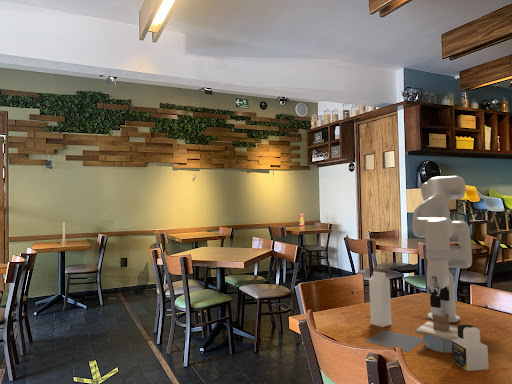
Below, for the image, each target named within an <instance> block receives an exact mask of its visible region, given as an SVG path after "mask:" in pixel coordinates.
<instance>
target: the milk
mask: <svg viewBox="0 0 512 384" xmlns="http://www.w3.org/2000/svg"><path fill="white" fill-rule="evenodd" d="M368 285H369V286H368V287H369V309H370V310H369V313H370V325H373V326H377V327H381V328H384V327H385V328H386V327H387V326H391V325H392V308H391V307H392V306H391V304H392V303H391V280H390V278H388V277H387V276H386V272H382V271H381V272H380V271H372V275H371V277H370V278H369V282H368Z"/></svg>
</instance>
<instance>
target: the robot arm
mask: <svg viewBox="0 0 512 384" xmlns="http://www.w3.org/2000/svg"><path fill="white" fill-rule="evenodd" d="M466 188H467V187H466V182H465V180H464V178H463V177H461V176H459V175H448V176H446V175H445V176H434V177H431V178H430V179H428V180H427V181H426V182H424V183H422V184H421V187H420V193H421V197H422V199H423V201H422V202H420V204H419V205H418V206H416V208H415V209H414V210H413V214H412V223H411V224H412V225H411V229H412V234H413V235H414V236H415V237H416V238H421V239H422V238H423V239H424V238H425V252H426V253H425V255H426V256H425V257H426V260H427V263H426V264H427V266H426V286H427V288H428V289H429V300H430V309H431V310H430V312H429V313H427V318H428V319H430V320H432V321H433V314H435V313H436V312H439V313H445V314H449V323H456V322H459V321H460V320H461V317H460V315H458V314H456V313H457V312H456V297H455V296H456V294H455V292H456V291H455V279H454V276H453V274H452V273H451V272H450V269H468V268H470V267H471V266H472V265H473V264H472V263H473V254H472V242H471V241H472V240H471V230H470V226H469V224H468V222H466V221H464V220H452V218H450V217H451V215H450V209H449V205H450V201H451V200H462V199H463V198H464V197H465V195H466V191H467V190H466ZM450 243H454V244H458V245H450Z"/></svg>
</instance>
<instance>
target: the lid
mask: <svg viewBox="0 0 512 384" xmlns="http://www.w3.org/2000/svg"><path fill="white" fill-rule="evenodd" d="M458 326H459V325H453V324H450V322H449V314H445V313H439V312H436V313H435V314H433V320H432V321H429V320H428V321H426V322H425V323H423V324H422V325H420V326H419V327H418V328H417V329H415V334H418V335H422V336H424V335H428V336H433V337H438V338H443V339H448V340H452V339H458V329H457V327H458Z"/></svg>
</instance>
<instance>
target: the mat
mask: <svg viewBox="0 0 512 384" xmlns="http://www.w3.org/2000/svg"><path fill="white" fill-rule="evenodd" d="M364 342H365V343H368V344H373V345H377V346H381V347H382V346H383V347H386V348H390V347H402V349H403V351H404V352H407V353H409V352H411V351H412V350H413V349H414V348H416V347H417V346H418V345H419V344H421V343H423V342H424V337H418V336H414V335H408V334H404V333H399V332H395V331H389V330H383V329H382V330H381V331H380V332H378V333H376V334H374V335H373V336H371V337H370V338H368V339H366V340H364ZM403 351H402V352H403Z"/></svg>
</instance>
